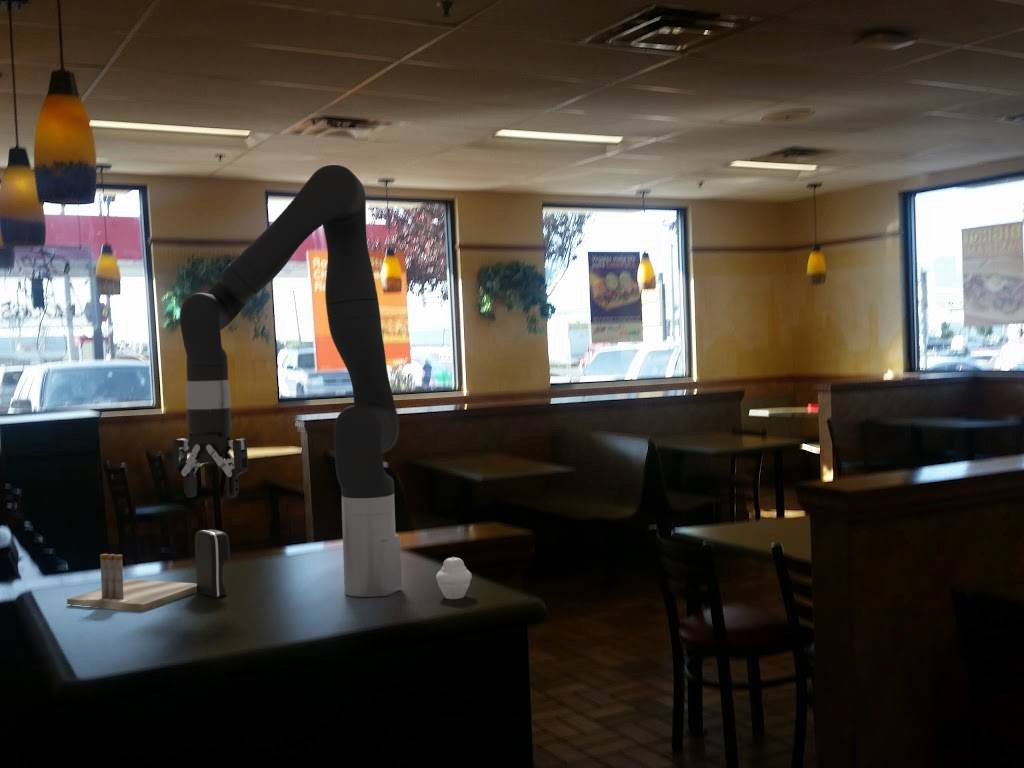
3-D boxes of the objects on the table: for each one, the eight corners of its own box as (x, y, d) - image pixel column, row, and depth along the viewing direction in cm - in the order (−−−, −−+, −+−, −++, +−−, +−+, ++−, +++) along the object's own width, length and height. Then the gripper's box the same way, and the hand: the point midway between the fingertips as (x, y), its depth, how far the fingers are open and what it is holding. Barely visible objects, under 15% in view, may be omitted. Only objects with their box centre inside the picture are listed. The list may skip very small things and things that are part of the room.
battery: (233, 595, 184) (231, 530, 184) (214, 599, 181) (211, 533, 181) (215, 589, 189) (213, 526, 189) (195, 593, 187) (193, 529, 186)
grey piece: (467, 601, 175) (466, 560, 174) (432, 600, 176) (431, 559, 176) (476, 593, 181) (474, 553, 180) (441, 592, 182) (440, 552, 182)
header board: (202, 590, 189) (201, 542, 188) (143, 611, 173) (141, 559, 173) (130, 585, 194) (129, 538, 194) (67, 606, 179) (65, 555, 179)
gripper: (255, 404, 185) (257, 495, 186) (188, 405, 190) (191, 493, 191) (229, 407, 178) (232, 501, 179) (161, 407, 183) (164, 499, 184)
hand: (211, 497), depth 185 cm, fingers open, 8 cm apart
